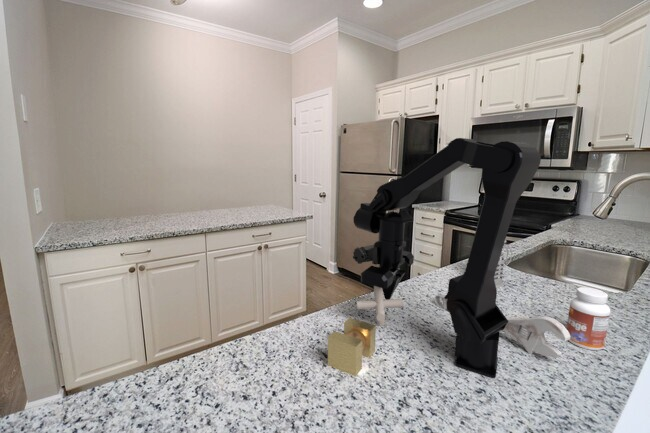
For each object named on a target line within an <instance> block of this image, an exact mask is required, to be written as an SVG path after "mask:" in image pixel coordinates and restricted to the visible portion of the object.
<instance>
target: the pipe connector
mask: <svg viewBox="0 0 650 433" xmlns="http://www.w3.org/2000/svg"><path fill="white" fill-rule="evenodd" d="M373 292H374V293H373V294H374V299H371V300H369V299H367V300H357V301H356V309H357V310H369V309H370V310H371V309H372V310H373V309H375V314H376V315H375V316H376V326H379V327H384V326H385V325H386V313H385V309H395V308H396V309H397V308H403V307H404V303H403V299H402V298H394V299H393V298H391V299H387V300H386V299H384V293H383V290H382V288H380V287H376V286H373Z"/></svg>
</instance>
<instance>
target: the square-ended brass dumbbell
mask: <svg viewBox="0 0 650 433" xmlns="http://www.w3.org/2000/svg"><path fill="white" fill-rule="evenodd" d="M376 327H377V324H376V325H375V324H373V323H369V322H366V321H362V320H359V319H356V318H353V317H349V318H348V319H347V320H345V321H344V323H343V333H342V332H339V331H336V330H334V331H333V332H332V333H331V334H330V335H328V336H327V366H328V367H331V368H334V369H336V370H338V371H341V372H343V373H346V374H349V375H351V376H353V377H357V376H358V375H359V373H360V372H361V370H363V368H362V367H363V366H362V365H363V357H366V358H368V359H370V358H371V357H372V356H373V355H374V354H375V352H376V333H377V332H376Z"/></svg>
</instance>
